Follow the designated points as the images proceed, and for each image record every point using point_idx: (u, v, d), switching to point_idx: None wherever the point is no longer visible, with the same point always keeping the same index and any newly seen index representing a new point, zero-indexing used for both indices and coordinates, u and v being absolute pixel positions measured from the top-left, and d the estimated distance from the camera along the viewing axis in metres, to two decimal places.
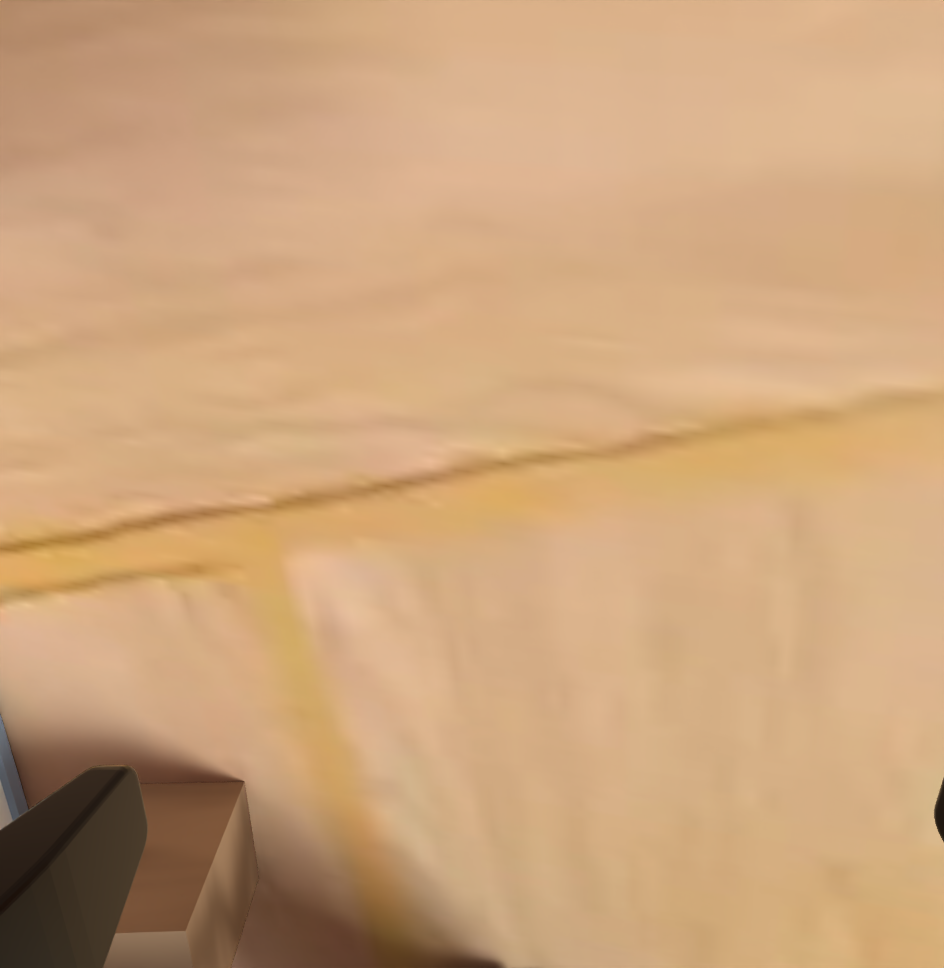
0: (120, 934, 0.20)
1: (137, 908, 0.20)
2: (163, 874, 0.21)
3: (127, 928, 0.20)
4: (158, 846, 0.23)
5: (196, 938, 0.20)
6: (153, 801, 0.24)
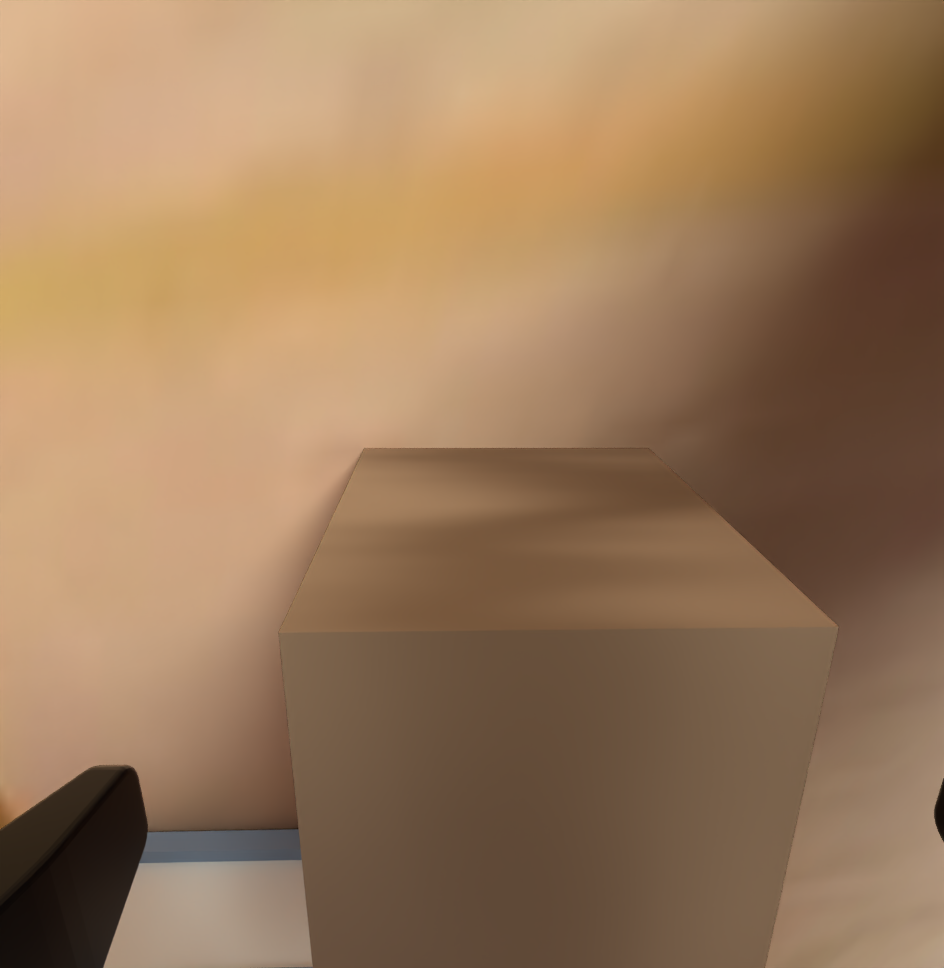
0: (304, 808, 0.06)
1: None
2: None
3: (298, 783, 0.06)
4: None
5: (402, 602, 0.06)
6: None
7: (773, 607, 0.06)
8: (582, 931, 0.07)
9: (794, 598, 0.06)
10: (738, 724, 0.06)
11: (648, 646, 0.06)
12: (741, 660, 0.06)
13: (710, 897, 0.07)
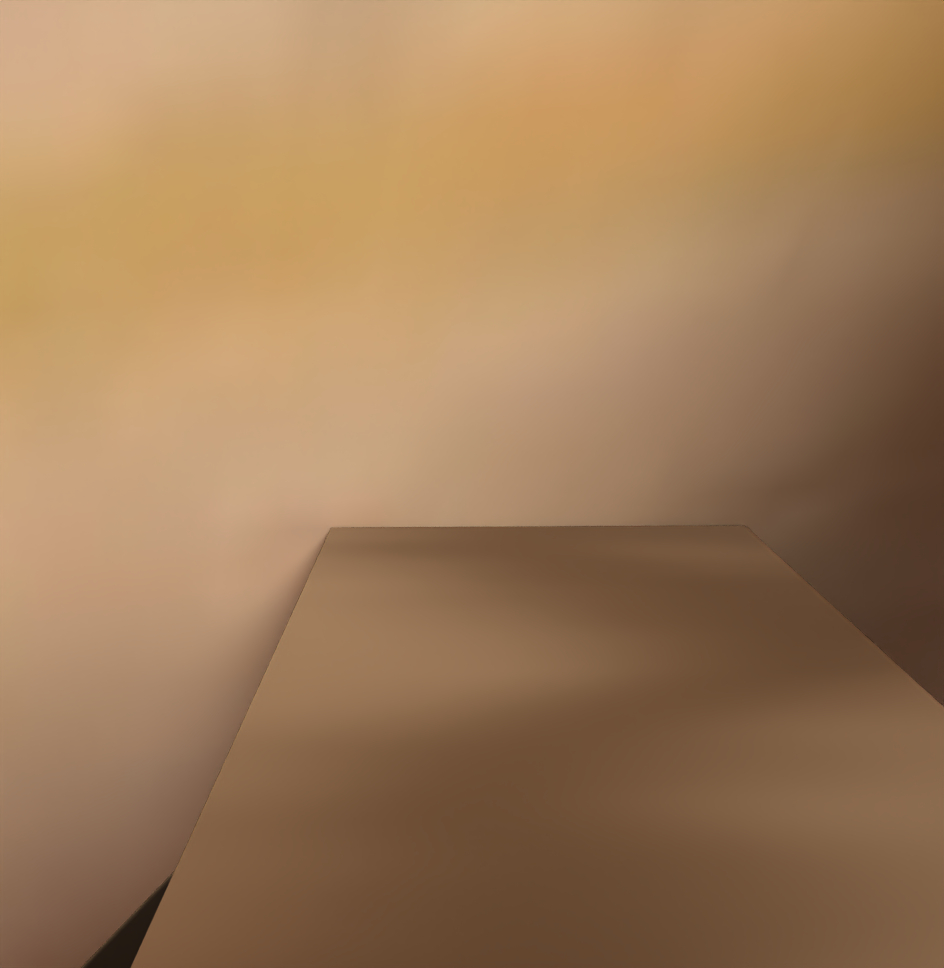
0: None
1: None
2: None
3: None
4: None
5: None
6: None
7: None
8: None
9: None
10: None
11: None
12: None
13: None
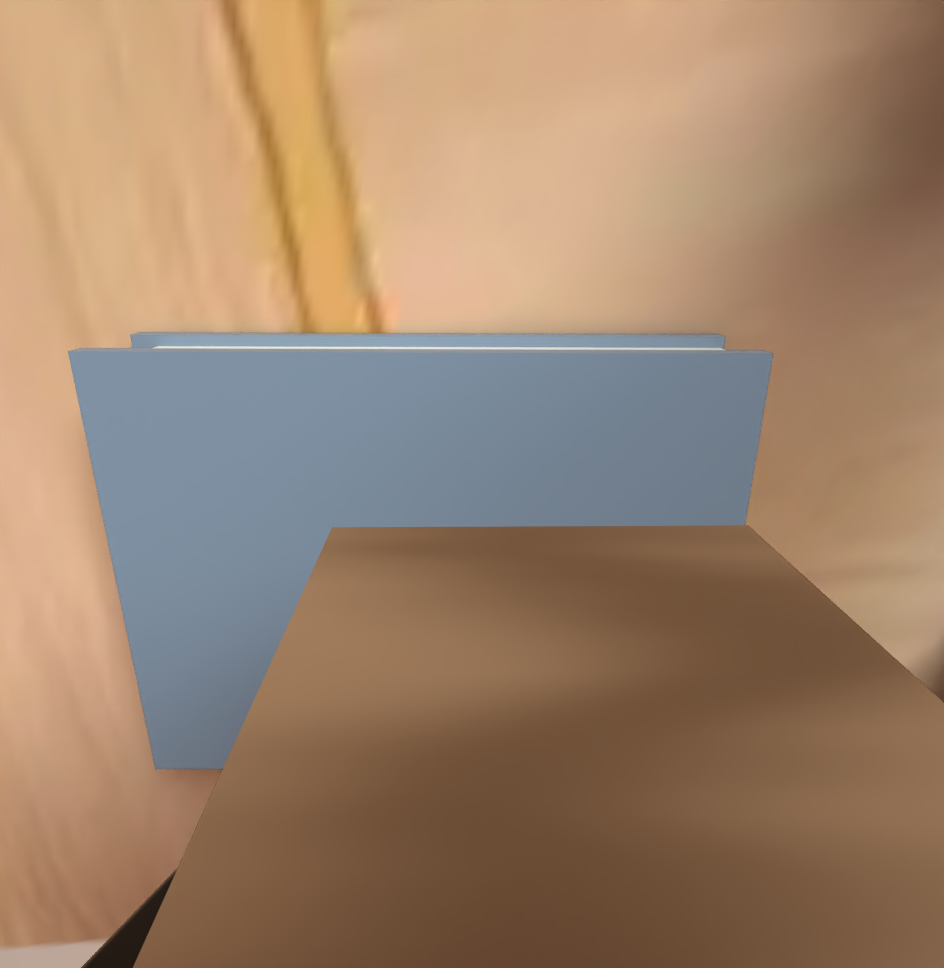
0: None
1: None
2: None
3: None
4: None
5: None
6: None
7: None
8: None
9: None
10: None
11: None
12: None
13: None
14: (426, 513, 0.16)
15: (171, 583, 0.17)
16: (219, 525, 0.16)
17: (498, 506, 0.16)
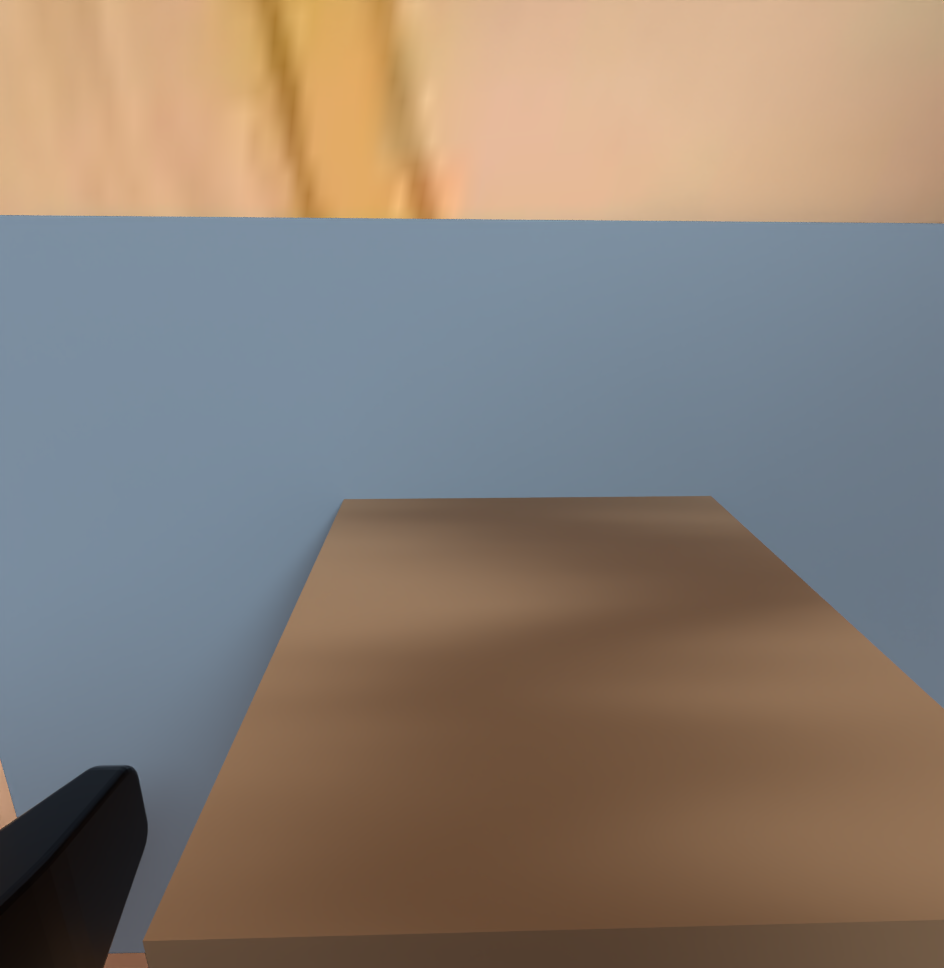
0: None
1: None
2: None
3: None
4: None
5: (376, 843, 0.04)
6: None
7: None
8: None
9: None
10: None
11: (818, 949, 0.03)
12: None
13: None
14: None
15: (70, 656, 0.09)
16: (153, 553, 0.09)
17: None
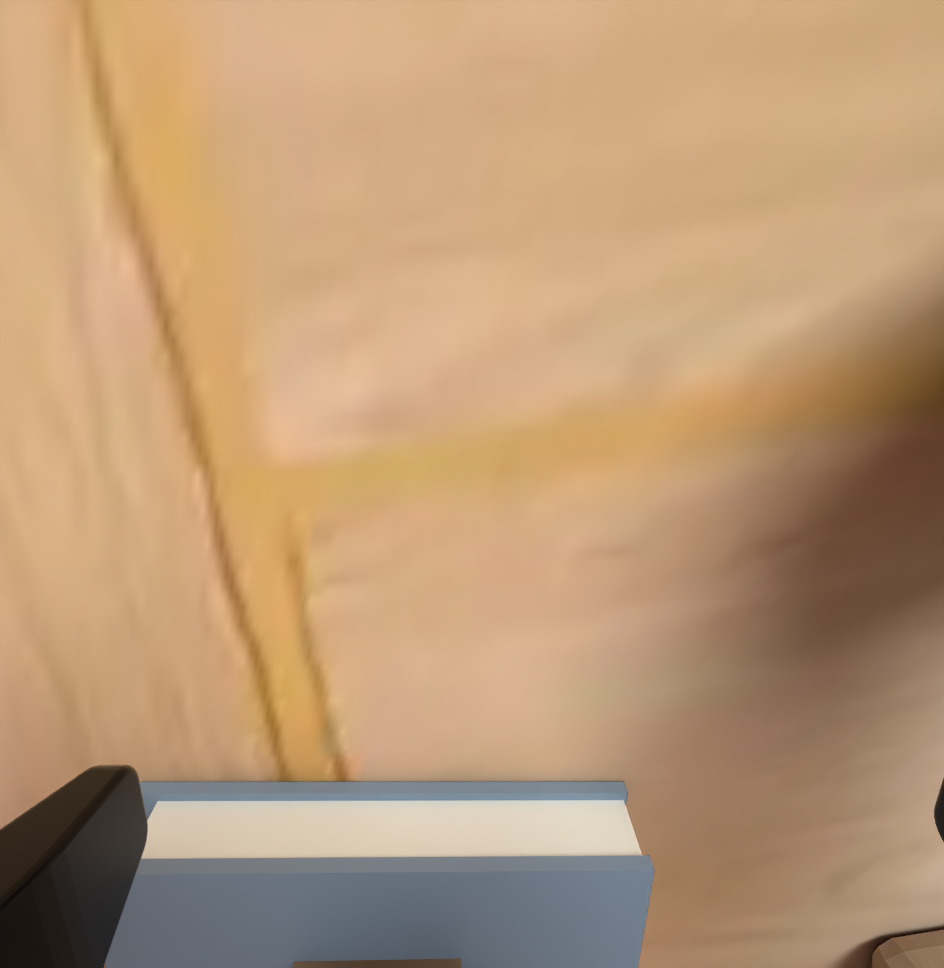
0: None
1: None
2: None
3: None
4: None
5: None
6: None
7: None
8: None
9: None
10: None
11: None
12: None
13: None
14: None
15: None
16: None
17: None
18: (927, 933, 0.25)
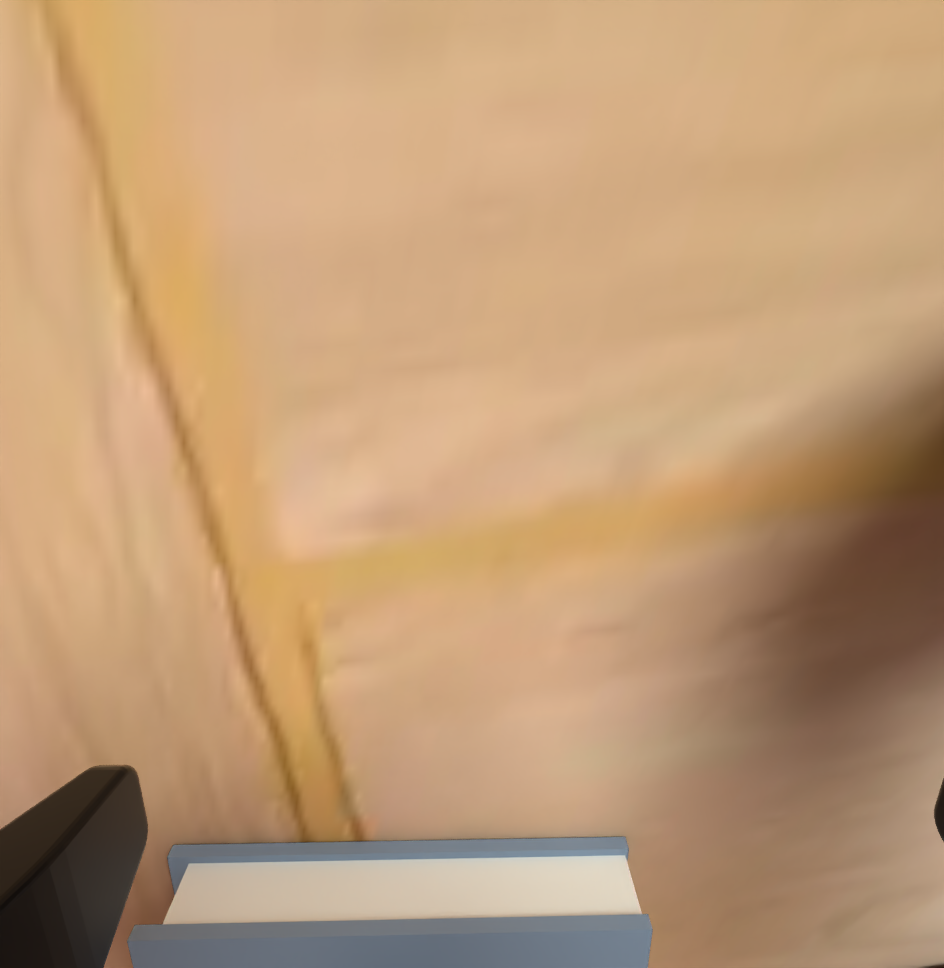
0: None
1: None
2: None
3: None
4: None
5: None
6: None
7: None
8: None
9: None
10: None
11: None
12: None
13: None
14: None
15: None
16: None
17: None
18: None
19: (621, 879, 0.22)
